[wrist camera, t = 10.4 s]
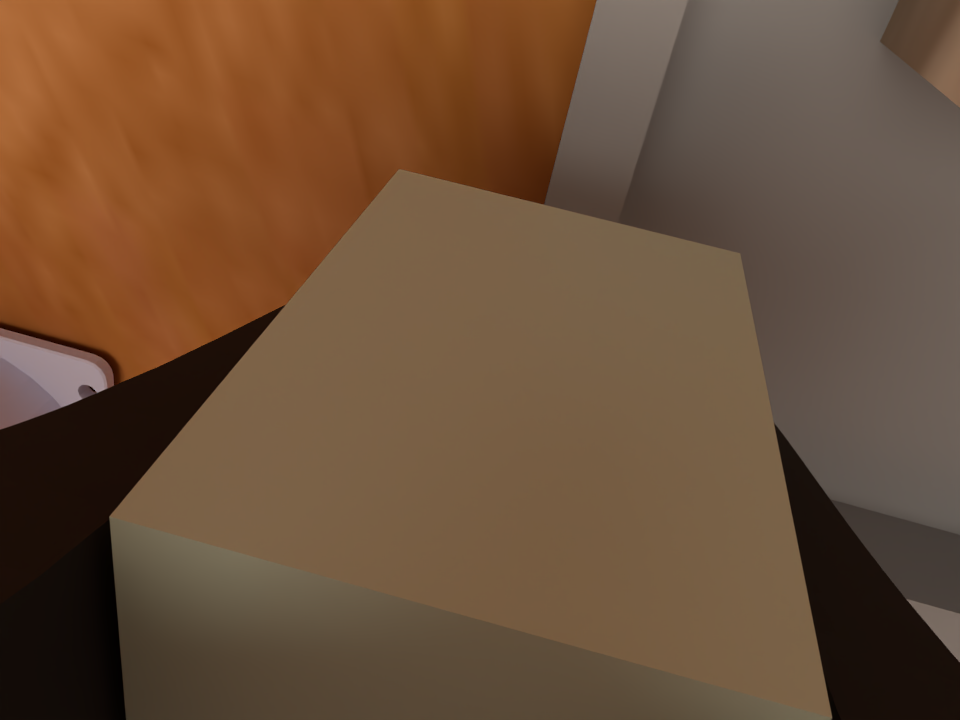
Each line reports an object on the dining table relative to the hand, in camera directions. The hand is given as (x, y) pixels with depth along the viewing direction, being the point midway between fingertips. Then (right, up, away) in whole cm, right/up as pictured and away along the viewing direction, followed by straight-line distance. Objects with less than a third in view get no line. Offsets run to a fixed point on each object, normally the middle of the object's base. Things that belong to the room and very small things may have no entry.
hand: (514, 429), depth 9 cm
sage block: (0, +1, +1) cm, 2 cm away
